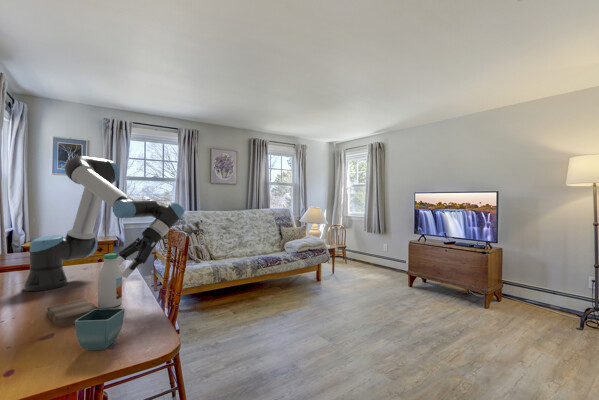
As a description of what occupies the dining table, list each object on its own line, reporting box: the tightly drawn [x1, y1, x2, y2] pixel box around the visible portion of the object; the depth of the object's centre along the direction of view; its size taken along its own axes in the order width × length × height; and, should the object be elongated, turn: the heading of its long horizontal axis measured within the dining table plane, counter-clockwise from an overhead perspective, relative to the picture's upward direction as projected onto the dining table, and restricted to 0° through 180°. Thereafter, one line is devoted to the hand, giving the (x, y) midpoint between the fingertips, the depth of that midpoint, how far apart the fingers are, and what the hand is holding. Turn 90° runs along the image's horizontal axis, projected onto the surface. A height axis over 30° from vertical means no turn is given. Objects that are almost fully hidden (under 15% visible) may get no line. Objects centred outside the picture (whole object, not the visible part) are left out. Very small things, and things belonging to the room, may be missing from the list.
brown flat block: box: [46, 298, 100, 329], centre depth 100 cm, size 16×11×3 cm
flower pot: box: [74, 307, 126, 351], centre depth 80 cm, size 9×9×9 cm
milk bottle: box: [97, 252, 123, 309], centre depth 110 cm, size 8×8×20 cm
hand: (116, 273), depth 111 cm, fingers open, 13 cm apart
